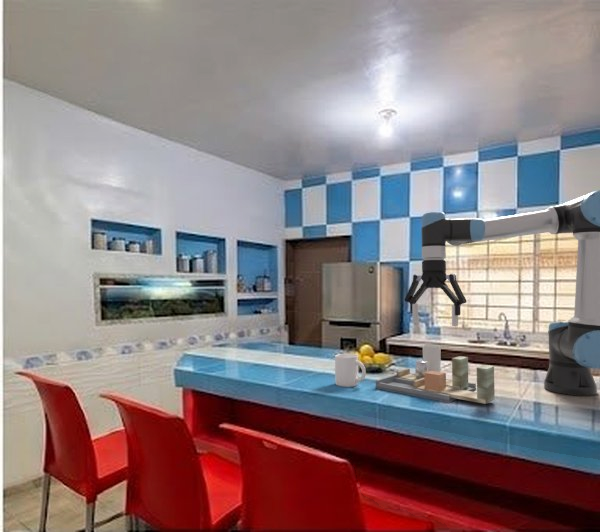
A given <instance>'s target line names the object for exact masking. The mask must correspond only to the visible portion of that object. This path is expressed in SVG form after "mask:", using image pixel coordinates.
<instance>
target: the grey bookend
mask: <svg viewBox="0 0 600 532" xmlns="http://www.w3.org/2000/svg"><path fill="white" fill-rule="evenodd" d="M441 349H442V348H441V345H438V344H422V361H428V372H429V371H438V372H441V361H442V360H441V357H442V356H441V355H442V354H441Z"/></svg>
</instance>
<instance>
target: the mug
mask: <svg viewBox="0 0 600 532" xmlns="http://www.w3.org/2000/svg"><path fill="white" fill-rule="evenodd" d="M359 367H360V369H361V376H360V377H359ZM366 374H367V371H366V367H365V365H364V363H363V362H361V361H360V360H359V355H357V354H356V353H355V354H353V353H338V354H335V355H334V380H335V385H336V386H338V387H343V388H352V387H356V386H358V385H359V383H361V382H363V381H364V380H365V378H366Z"/></svg>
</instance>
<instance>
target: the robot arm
mask: <svg viewBox="0 0 600 532" xmlns="http://www.w3.org/2000/svg"><path fill="white" fill-rule="evenodd" d="M545 233H549V234H550V235H558V234H572V236H573V237H574V238H575V239H576V240H577V256H576V257H577V258H576V276H575V277H576V278H575V279H576V280H575V293H574V294H575V297H574V314H573V317H571V318H569V320H567V321H553V322H550V323H549V324H548V331H547V334H548V355H549V356H548V358H549V361H548V362H549V366H548V369H547V372H546V375H545V376H544V380H543V386H544V389H545V390H547V391H550V392H552V393H557V394H562V395H563V394H564V395H569V396H584V397H585V396H587V397H588V396H594V395H597V394H598V386H597V384H596V381H595V378H594V376H593V373H592V370H591V369H594V370H600V189H599V190H593V191H590V192H588V193H587V194H585V195H582V196H580V197H579V196H578V197H577V198H574V199H572V200H570V201H567V202H565V203H563V204H562V203H561V204H559V205H553V206H549V207H547V208H546V209H545V210H539V211H534V212H527V213H519V214H514V215H507V216H499V217H492V218H486V219H483V218H480V217H479V218H477V217H470V218H469V217H465V218H463V217H462V218H448V217H446V214H445V212H443V211H442V212H441V211H440V212H438V211H431V212H426V213H424V214H423V215H422V216H421V259H422V261H421V272H422V273H421V274H413V275H412V281H411V285H410V287H409V289H408V291H407V292H406V295H405V298H404V302H407V303H409V309H410V310H409V313H410V314H412V315H411V316H412V324H419V303H417V302H418V301H419V299H420V298H421V297H422V296H423V295H424V293H425V292H426V291H427V290H428V289H433V288H434V289H441V291H443V292H444V293H445V295H446V296H447V297H448V298H449V299H450V301H451V302H452V303H453V304H452V305H451V326H452V327H458V326H459V324H458V323H459V317H458V316H460V315H461V305H463V304H466V303H467V299H466V297H465V295H464V293H463V291H462V289H461V287H460V286H459V283H458V281H457V275H456V274H455V273H450V274H447V273H446V271H447V261H446V260H445V259H446V255H447V253H446V252H447V251H446V247H447V246H446V244H449V245H450V246H455V247H456V246H462V245H466V244H472V243H478V242H479V243H481V242H485V241H487V242H488V241H493V240H500V239H508V238H515V237H523V236H530V235H537V234H545ZM447 280H448V282H449V283H450V285H451V287H452V289H453V291H452V290H451V289H450V287H449V286H448V285H447V283H446V281H447ZM421 281H422V284H421V285H420V287H419V288H418V286H419V283H420V282H421ZM417 288H418V289H417ZM416 290H417V291H416ZM454 293H455V294H454Z"/></svg>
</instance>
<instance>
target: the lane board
mask: <svg viewBox="0 0 600 532" xmlns="http://www.w3.org/2000/svg"><path fill="white" fill-rule="evenodd" d="M410 374H412V375H416V374H415V373H411V372H410ZM446 380H451V381H452V378H451V379H450V378H446ZM446 387H448V388H454V389H459V390H465V391H471V392H474V391H476V390H477V382H475V383H474V382H469V381H468V387H467V388H465V389H461V388H455V387H449V386H446ZM375 389H378V390H383V391H388V392H392V393H397V394H403V395H408V396H414V397H418V398H425V399H428V400H434V401H440V402H444V403H451V402H453V401H454V400H457V398H451V397H450V395H446V394H441V393H435V392H430V391H424V390H419V389H413V380H407V379H401V378H397V373H395V374H391V375H388V376H385V377H382V378H379V379H376V380H375ZM475 389H476V390H475ZM473 390H474V391H473Z"/></svg>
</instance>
